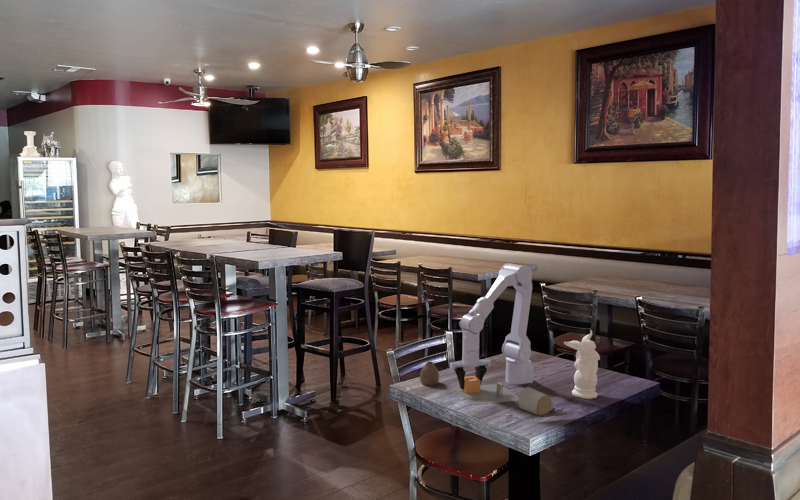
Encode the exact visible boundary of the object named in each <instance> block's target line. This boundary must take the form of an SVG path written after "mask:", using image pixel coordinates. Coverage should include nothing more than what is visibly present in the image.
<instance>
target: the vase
mask: <svg viewBox="0 0 800 500" xmlns="http://www.w3.org/2000/svg"><path fill="white" fill-rule="evenodd" d="M419 380H420V383H421V384H422V385H424V386H431V387H432V386H437V385H438V384H439V382H440V372H439V370H438V368H437V366H436V365H435V364H434V362H433V361H427V362H426V363H425V364H424V366H422V368H421V370H420V373H419Z"/></svg>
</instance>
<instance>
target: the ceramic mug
mask: <svg viewBox="0 0 800 500" xmlns="http://www.w3.org/2000/svg"><path fill="white" fill-rule="evenodd" d="M518 397H519V401H517V402H518V407H519V409H520V410H523V411H525V412H529V413H531V414H533V415H537V416H541V418H543V417H545V416H543V415H545V414H549V413H550V411H552V410H553V409H554V406H552V399H551V397H550V396H549V395H548V394H545V393H544V392H542V391H540V390H539V391H538V390H536V389H535V388H532V387H530V386H528V387H525V388H524V389H522V391H521V392H520V394H519V395H518Z"/></svg>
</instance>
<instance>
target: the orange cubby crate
mask: <svg viewBox="0 0 800 500" xmlns="http://www.w3.org/2000/svg"><path fill="white" fill-rule="evenodd" d="M460 389H461V388H460ZM461 390H462V391H464V392H465V393H473V392H480V380H479V379H478V378H476V375H469V376H465V378H464V389H461Z"/></svg>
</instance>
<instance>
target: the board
mask: <svg viewBox="0 0 800 500" xmlns="http://www.w3.org/2000/svg"><path fill="white" fill-rule="evenodd" d="M452 389H453V390H454V391H455V392H457V393H458V394H459V396H461V397H462V398H464V399H465V401H467V402H468V403H469V404H470V405H472V406H475V405H476V406H477V405H485V404H494V403H495V404H497V403H506V402H507V403H509V402H516V401H517V402H518V401H519V395H516V394H515V393H513V392H512V391H511V390H509V389H507V388H506V387H505V386H503V398H499V397H498V396H496V394H497V383H491V384H481V385H480V392H473V393H465V392H464V391H462V390H461V389H460V386H456V387H452Z"/></svg>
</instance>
